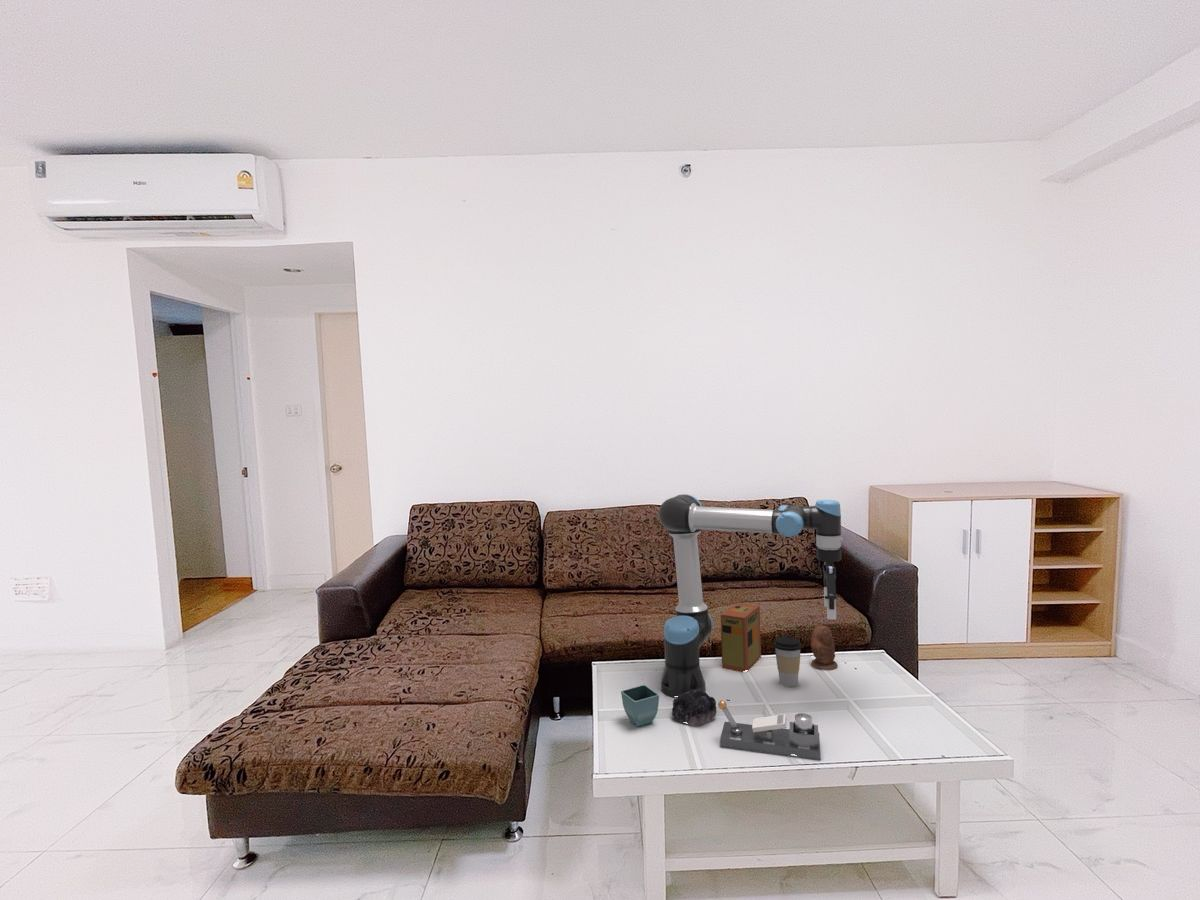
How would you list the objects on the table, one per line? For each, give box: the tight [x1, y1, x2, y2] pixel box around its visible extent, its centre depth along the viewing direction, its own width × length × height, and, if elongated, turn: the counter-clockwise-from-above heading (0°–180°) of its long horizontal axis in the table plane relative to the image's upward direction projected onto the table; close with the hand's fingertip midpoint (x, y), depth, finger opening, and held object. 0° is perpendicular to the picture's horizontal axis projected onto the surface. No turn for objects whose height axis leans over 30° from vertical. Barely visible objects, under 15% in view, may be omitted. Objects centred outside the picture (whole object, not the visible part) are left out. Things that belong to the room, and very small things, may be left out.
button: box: [794, 712, 813, 735], centre depth 164 cm, size 4×4×4 cm
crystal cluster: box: [671, 688, 717, 727], centre depth 184 cm, size 13×14×10 cm
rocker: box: [752, 713, 788, 732], centre depth 167 cm, size 9×6×1 cm, turn 72°
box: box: [720, 602, 762, 673], centre depth 225 cm, size 17×9×20 cm, turn 147°
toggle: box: [717, 699, 737, 728], centre depth 170 cm, size 2×2×8 cm
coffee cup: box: [772, 635, 803, 688], centre depth 206 cm, size 9×9×15 cm
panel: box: [719, 721, 821, 761], centre depth 167 cm, size 26×10×5 cm, turn 71°
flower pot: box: [620, 684, 660, 727], centre depth 182 cm, size 9×9×9 cm
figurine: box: [810, 625, 838, 671], centre depth 220 cm, size 9×10×15 cm
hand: (830, 612), depth 196 cm, fingers open, 13 cm apart
